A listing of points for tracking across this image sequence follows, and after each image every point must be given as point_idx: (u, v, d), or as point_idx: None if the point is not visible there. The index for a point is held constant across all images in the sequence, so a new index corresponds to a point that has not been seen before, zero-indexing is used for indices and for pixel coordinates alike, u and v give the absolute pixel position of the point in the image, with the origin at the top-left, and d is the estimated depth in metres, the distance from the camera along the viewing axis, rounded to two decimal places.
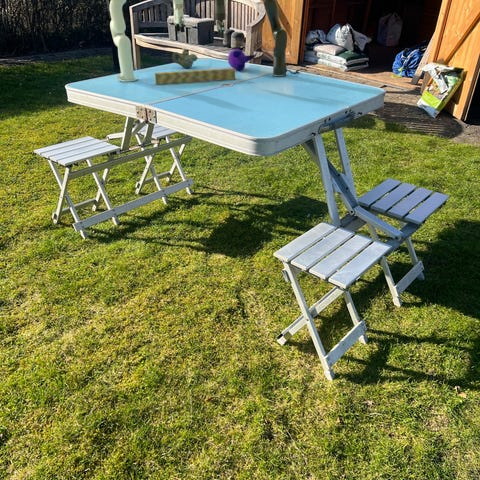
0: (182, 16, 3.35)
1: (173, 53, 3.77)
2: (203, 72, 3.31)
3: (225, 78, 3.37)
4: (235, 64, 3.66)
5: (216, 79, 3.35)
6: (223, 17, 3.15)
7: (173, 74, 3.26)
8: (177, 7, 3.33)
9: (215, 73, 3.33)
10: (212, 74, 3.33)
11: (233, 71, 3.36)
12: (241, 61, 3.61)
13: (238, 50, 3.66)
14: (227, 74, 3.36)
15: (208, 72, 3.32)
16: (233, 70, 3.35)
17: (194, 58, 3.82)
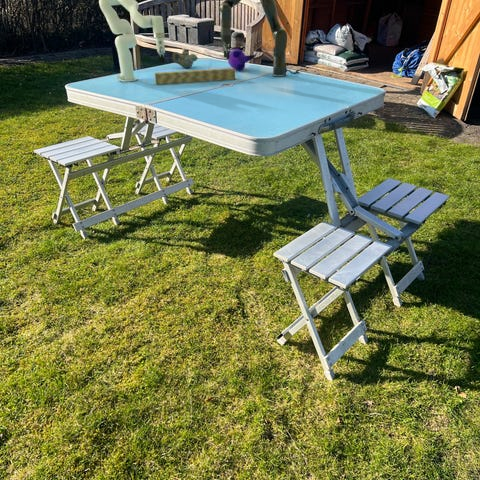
0: None
1: (173, 53, 3.77)
2: (203, 72, 3.31)
3: (225, 78, 3.37)
4: (235, 64, 3.66)
5: (216, 79, 3.35)
6: (229, 39, 3.23)
7: (173, 74, 3.26)
8: None
9: (215, 73, 3.33)
10: (212, 74, 3.33)
11: (233, 71, 3.36)
12: (241, 61, 3.61)
13: (238, 50, 3.66)
14: (227, 74, 3.36)
15: (208, 72, 3.32)
16: (233, 70, 3.35)
17: (194, 58, 3.82)
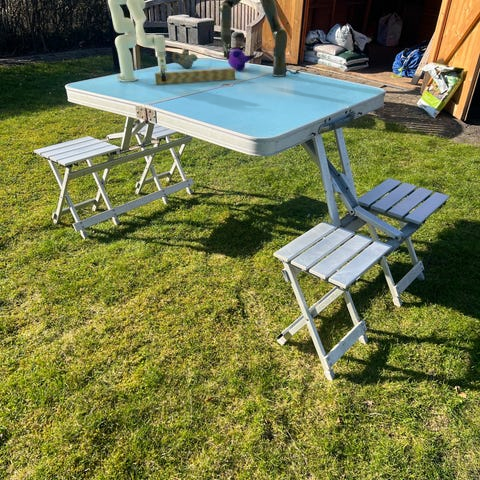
0: None
1: (173, 53, 3.77)
2: (203, 72, 3.31)
3: (225, 78, 3.37)
4: (235, 64, 3.66)
5: (216, 79, 3.35)
6: (229, 39, 3.23)
7: (173, 74, 3.26)
8: None
9: (215, 73, 3.33)
10: (212, 74, 3.33)
11: (233, 71, 3.36)
12: (241, 61, 3.61)
13: (238, 50, 3.66)
14: (227, 74, 3.36)
15: (208, 72, 3.32)
16: (233, 70, 3.35)
17: (194, 58, 3.82)
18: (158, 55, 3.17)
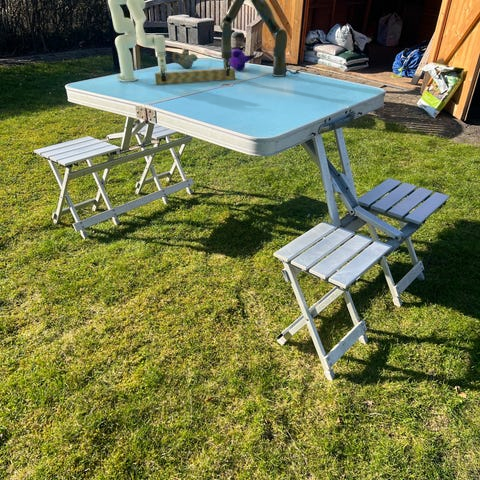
0: None
1: (173, 53, 3.77)
2: (203, 72, 3.31)
3: (225, 78, 3.37)
4: (235, 64, 3.66)
5: (216, 79, 3.35)
6: (229, 56, 3.29)
7: (173, 74, 3.26)
8: None
9: (215, 73, 3.33)
10: (212, 74, 3.33)
11: (233, 71, 3.36)
12: (241, 61, 3.61)
13: (238, 50, 3.66)
14: None
15: (208, 72, 3.32)
16: (233, 70, 3.35)
17: (194, 58, 3.82)
18: (158, 55, 3.17)
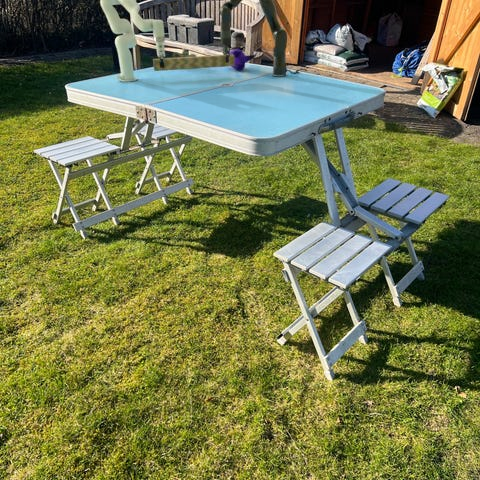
0: None
1: (173, 53, 3.77)
2: (202, 58, 3.26)
3: (224, 65, 3.32)
4: (235, 64, 3.66)
5: (215, 65, 3.31)
6: (229, 42, 3.24)
7: (172, 60, 3.21)
8: None
9: (214, 60, 3.29)
10: (211, 61, 3.28)
11: (232, 57, 3.31)
12: (241, 61, 3.61)
13: (238, 50, 3.66)
14: None
15: (207, 58, 3.27)
16: (232, 56, 3.31)
17: None
18: (156, 40, 3.12)
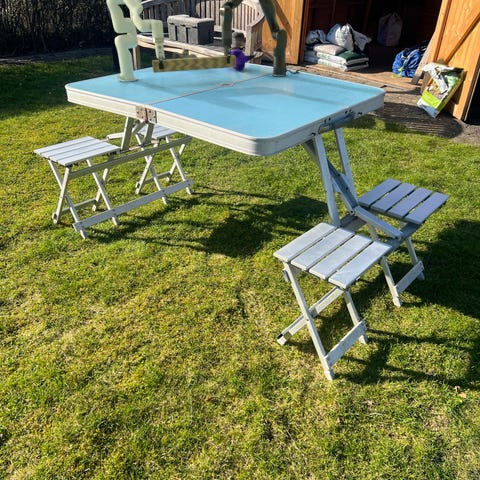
0: None
1: (173, 53, 3.77)
2: (203, 59, 3.17)
3: (225, 66, 3.23)
4: None
5: (216, 67, 3.22)
6: (230, 42, 3.15)
7: (171, 61, 3.13)
8: None
9: (215, 61, 3.20)
10: (212, 62, 3.20)
11: (234, 58, 3.22)
12: (241, 61, 3.61)
13: (238, 50, 3.66)
14: None
15: (208, 59, 3.18)
16: (234, 57, 3.22)
17: None
18: (156, 41, 3.03)
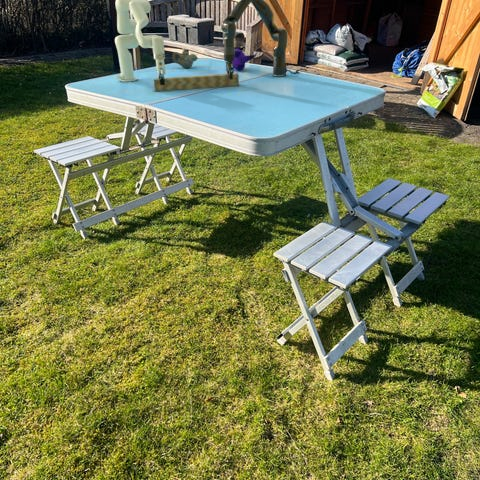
0: None
1: (173, 53, 3.77)
2: (205, 78, 3.11)
3: (228, 84, 3.18)
4: (235, 64, 3.66)
5: (218, 85, 3.16)
6: (232, 58, 3.09)
7: (173, 80, 3.07)
8: None
9: (217, 79, 3.14)
10: (215, 80, 3.14)
11: (236, 77, 3.17)
12: (241, 61, 3.61)
13: (238, 50, 3.66)
14: (230, 80, 3.17)
15: (210, 78, 3.12)
16: (236, 76, 3.16)
17: (194, 58, 3.82)
18: (156, 57, 2.96)
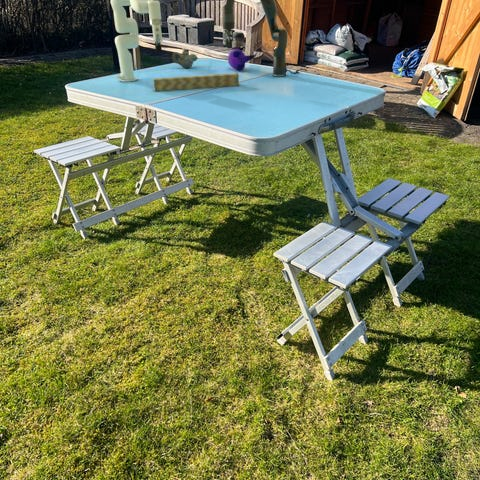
0: None
1: (173, 53, 3.77)
2: (205, 78, 3.11)
3: (228, 84, 3.18)
4: (235, 64, 3.66)
5: (218, 85, 3.16)
6: (232, 26, 2.98)
7: (173, 80, 3.07)
8: None
9: (217, 79, 3.14)
10: (215, 80, 3.14)
11: (236, 77, 3.17)
12: (241, 61, 3.61)
13: (238, 50, 3.66)
14: (230, 80, 3.17)
15: (210, 78, 3.12)
16: (236, 76, 3.16)
17: (194, 58, 3.82)
18: (153, 23, 2.86)
